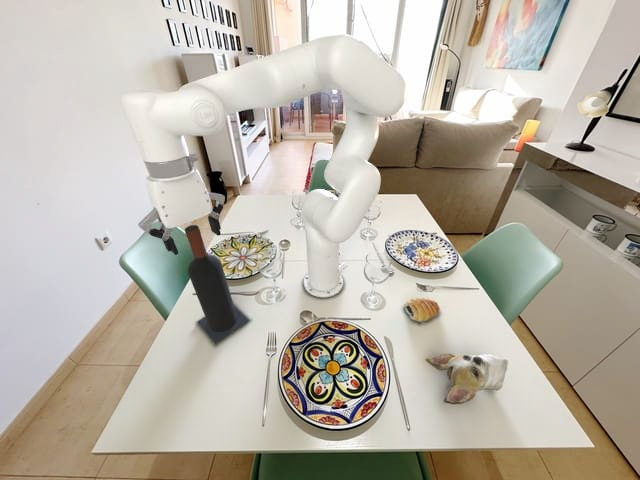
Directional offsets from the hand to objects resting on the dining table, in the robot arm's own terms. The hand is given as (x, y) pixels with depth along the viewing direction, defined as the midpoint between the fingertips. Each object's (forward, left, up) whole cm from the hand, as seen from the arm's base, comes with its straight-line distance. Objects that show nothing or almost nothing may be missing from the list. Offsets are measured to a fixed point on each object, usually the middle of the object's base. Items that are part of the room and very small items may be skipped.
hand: (196, 242), depth 59 cm
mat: (0, 0, -27) cm, 27 cm away
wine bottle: (0, 0, -27) cm, 27 cm away
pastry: (-40, +38, -27) cm, 61 cm away
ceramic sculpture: (-28, +54, -27) cm, 67 cm away
